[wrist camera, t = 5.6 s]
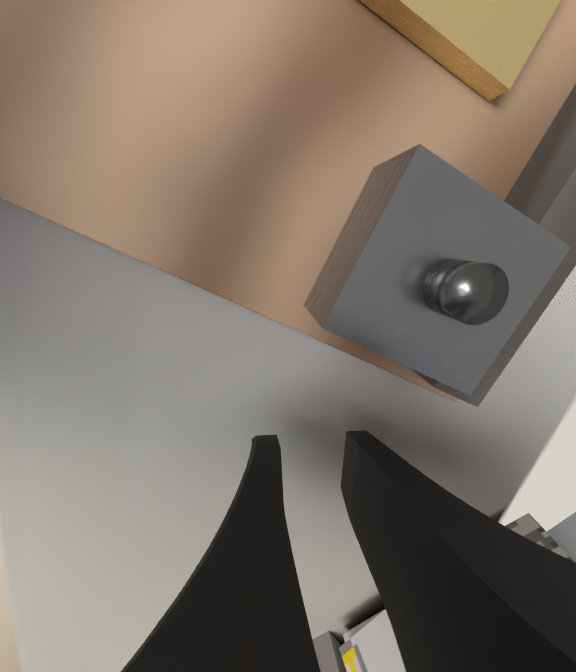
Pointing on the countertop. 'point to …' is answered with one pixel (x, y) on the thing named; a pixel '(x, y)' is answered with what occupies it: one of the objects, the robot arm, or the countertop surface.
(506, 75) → the yellow rectangular block
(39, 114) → the brown wooden board
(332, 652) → the toy figure
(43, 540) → the countertop surface
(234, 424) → the countertop surface
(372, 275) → the knobbed plate
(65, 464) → the countertop surface
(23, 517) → the countertop surface
